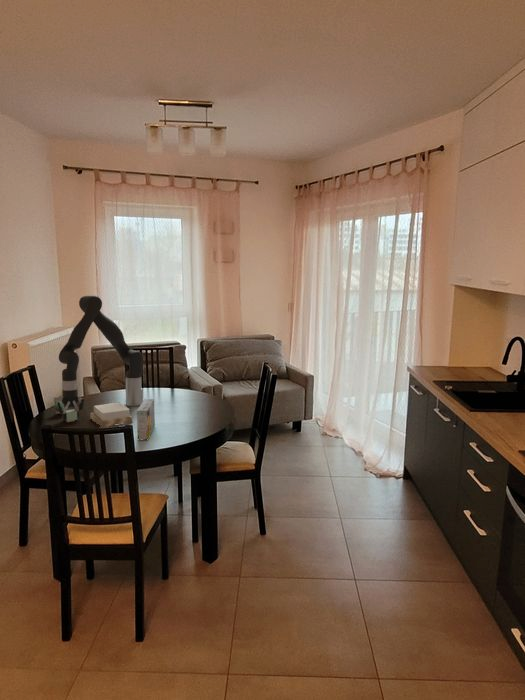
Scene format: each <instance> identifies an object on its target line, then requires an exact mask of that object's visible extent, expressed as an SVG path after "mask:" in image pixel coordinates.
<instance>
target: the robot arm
mask: <svg viewBox="0 0 525 700" xmlns="http://www.w3.org/2000/svg"><path fill="white" fill-rule="evenodd" d="M78 305H79V308H80V309H81V311H82V312H83V313H84V315H82V318H81V319H80V320H79V322H78V323H77V324H76V325H75V326H74V328H73V330H72V331H71V333H70V335H69V338H68V341H67V342H66V343H65V344H64V346H63V347H62V349H61V350H60V352H59V354H58V360H59V362H60V363H61V364H65V365H66V368H64V369H62V371H61V377H62V378H61V380H62V382H61V391H62V392H61V393H62V394H61V396H62V401H59V402H58V401H57V402H56V404H57V408H58V412H60V413H62V414H61V418H62V420H64V421H66V410H67V409H68V407H71V408H72V407H73V409H74V410H75V411H77V419H78V418H79V417H80V411H82V410H84V404H85V403H84V401H85V399H84V398H82V397H80V398H79V397H78V396H79V395H78V387H79V385H78V379H77V377H78V376H77V371H78V367H79V362H80V356H79V354H78V353H77V352H75V350H78V349H81V347H82V345H83V343H84V341H85V339H86V335H87V333H88V331H89V329H90V328H91V326H92V325H93V324H95V326H96V327H97V329H98V330H99V331H100V332H101V333H102V336H104V337H105V339H106V340H107V341H108V342H109V343H110V345H111V346H112V347H113V348H114V349H115V350H116V352H117V353H118V355H119V356H120V358H121V360H122V362H123V363H124V364H126V365H128V367H129V369H128V370H127V371H126V372H125V405H126V407H127V406H128V407H137V406H139V407H140V405H141V404H142V402H143V401H144V389H143V387H142V374H143V371H144V367H143V366H144V357H143V356H144V355H143V354H142V352H141V351H137V350H134V349H132V348H131V347H130V346H129V345H128V344H127V343H126V340H125V338H124V332H123V331H122V330H121V328H120V327H119V326H118V325H117V323H115V322H114V321H113V320H112V319H110V317H108V316H106V315H105V314H104V313H102V311H101V309H102V307H103V301H102V299H101V298H100V297H99V296H97V295H84V296H82V297H80V299H79V301H78ZM62 403H63V404H64V406H63V410H61V404H62ZM78 403H79V405H78Z"/></svg>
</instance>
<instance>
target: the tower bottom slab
mask: <svg viewBox="0 0 525 700" xmlns="http://www.w3.org/2000/svg"><path fill="white" fill-rule="evenodd" d="M91 419H92V420H91ZM90 420H91V421H92V422H94V423H95V422H96V423H95V424H97V425H98V424H99V425H100V426H99V425H98V426H99V427H100V428H102V427H106V428H110V427H109V425H115V424H120V423H127V424H132V423H133V416H132V415H130V417H125V418H119V419H112V420H106V421H103V420H101V419H100V418H99V417H98V416H97V415H96V414H95V413H94V412H90Z"/></svg>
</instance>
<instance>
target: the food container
mask: <svg viewBox="0 0 525 700" xmlns="http://www.w3.org/2000/svg"><path fill="white" fill-rule="evenodd" d="M57 401H58V402H59V401H62V395H60V396H59V397H58V396H57V397H54V398H53V402H54V407H55V408H54V409H55V415H57V414H61V415H62V413H60V412H58V408H57V404H56V402H57ZM63 406H64V404H63V403H62V404H61V410H63ZM67 410H72V407H68V409H67Z"/></svg>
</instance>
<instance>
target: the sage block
mask: <svg viewBox="0 0 525 700" xmlns="http://www.w3.org/2000/svg"><path fill="white" fill-rule="evenodd" d="M75 420H77V421H78V418H77V411H76V410H75V408H73V409H71V410H66V420H65V421H66V422H67V423H70V422H75Z"/></svg>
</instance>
